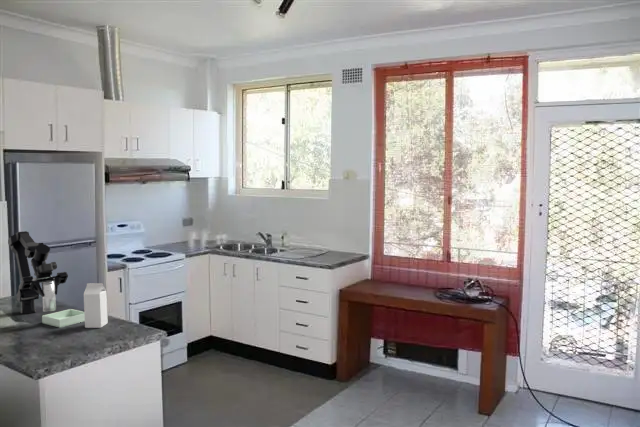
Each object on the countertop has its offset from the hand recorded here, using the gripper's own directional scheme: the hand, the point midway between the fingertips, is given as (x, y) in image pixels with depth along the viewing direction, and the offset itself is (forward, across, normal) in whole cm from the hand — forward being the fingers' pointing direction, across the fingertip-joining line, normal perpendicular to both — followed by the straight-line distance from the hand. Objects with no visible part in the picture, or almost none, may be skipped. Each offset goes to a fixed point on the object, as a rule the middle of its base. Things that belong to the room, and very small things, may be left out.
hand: (49, 295), depth 239 cm
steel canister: (+4, 0, +6) cm, 7 cm away
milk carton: (+21, +14, -2) cm, 25 cm away
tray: (+9, +7, +10) cm, 15 cm away
